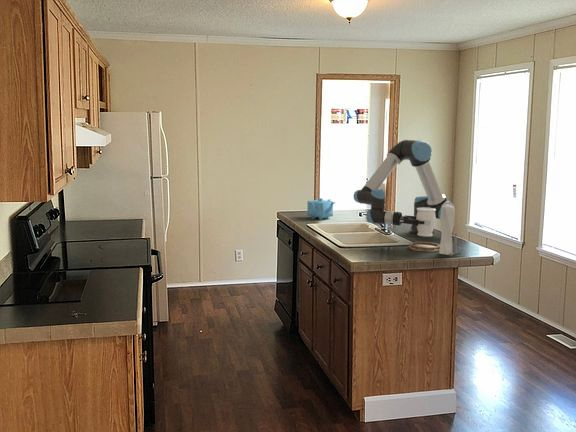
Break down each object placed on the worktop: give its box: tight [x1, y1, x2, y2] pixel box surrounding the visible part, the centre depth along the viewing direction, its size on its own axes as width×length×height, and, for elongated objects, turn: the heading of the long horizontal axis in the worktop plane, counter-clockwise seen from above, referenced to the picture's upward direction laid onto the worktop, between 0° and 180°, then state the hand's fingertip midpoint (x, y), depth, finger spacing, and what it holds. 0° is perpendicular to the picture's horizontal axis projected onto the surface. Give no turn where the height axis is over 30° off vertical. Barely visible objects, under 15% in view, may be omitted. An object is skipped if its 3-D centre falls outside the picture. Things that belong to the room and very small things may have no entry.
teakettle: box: [306, 197, 336, 221], centre depth 437 cm, size 19×19×15 cm
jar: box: [416, 207, 437, 238], centre depth 334 cm, size 11×10×15 cm
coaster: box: [408, 241, 440, 253], centre depth 336 cm, size 17×17×2 cm
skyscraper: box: [438, 203, 458, 256], centre depth 322 cm, size 8×8×28 cm
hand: (433, 221), depth 332 cm, fingers closed on jar, 10 cm apart
